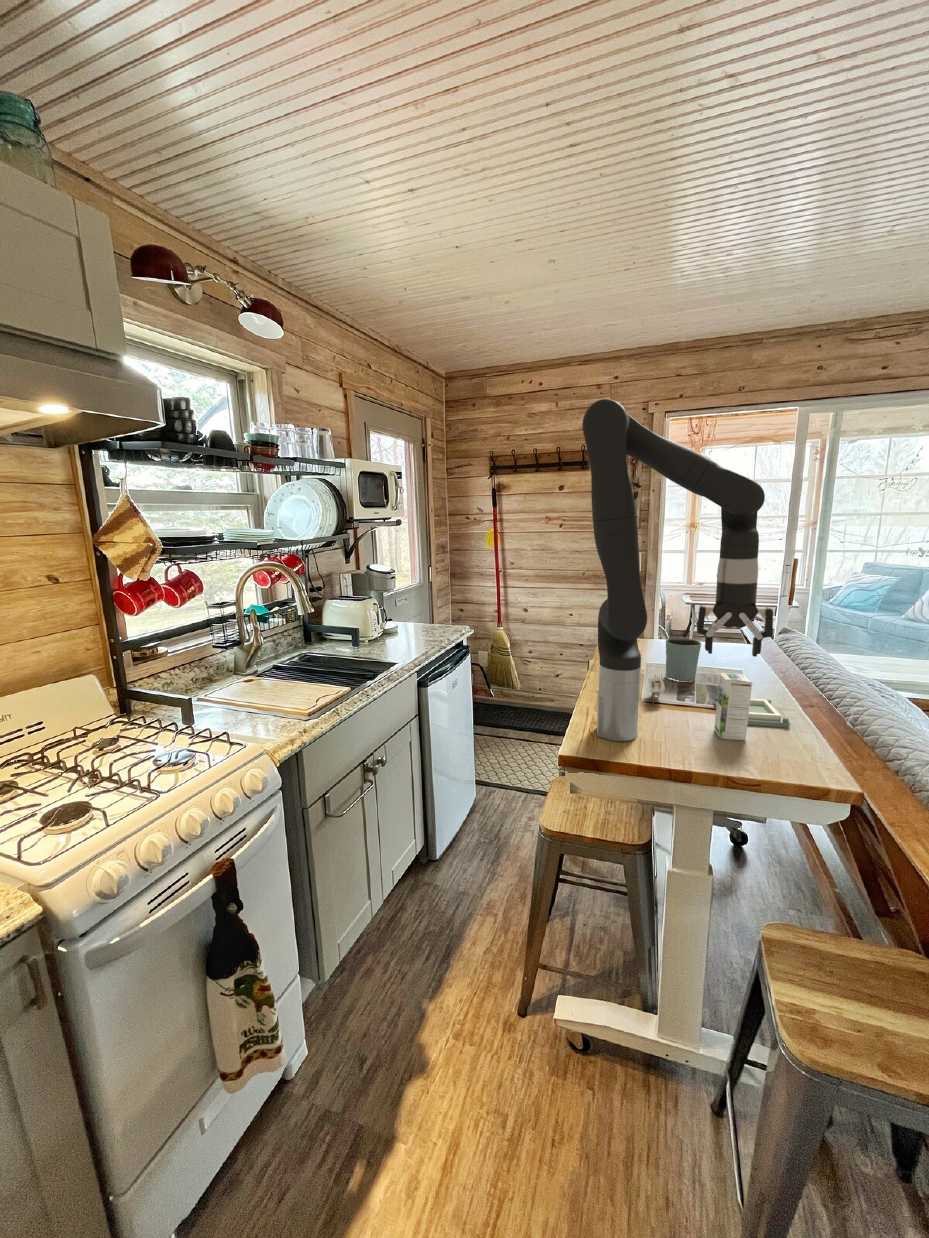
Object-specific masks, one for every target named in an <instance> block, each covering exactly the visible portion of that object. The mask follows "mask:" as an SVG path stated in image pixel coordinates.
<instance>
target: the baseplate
mask: <svg viewBox="0 0 929 1238" xmlns="http://www.w3.org/2000/svg"><path fill="white" fill-rule="evenodd" d="M717 698H718V696H715V697H714V699H713V705H714V704H715V705H716V706H715V705H714V706H715V707H717ZM789 721H790V719H789V718H788V717H785V716H784V715H783V714H782V713H781V712H780V711H779V710H778V708H777V707H775V706H774V705H773V704H772V700H771V699H761V698H760V699H759V698H757V699H756V698H750V707H749V716H748V725H747V726H759V727H760V726H761V727H773V728H790V725H791V722H789Z"/></svg>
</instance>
